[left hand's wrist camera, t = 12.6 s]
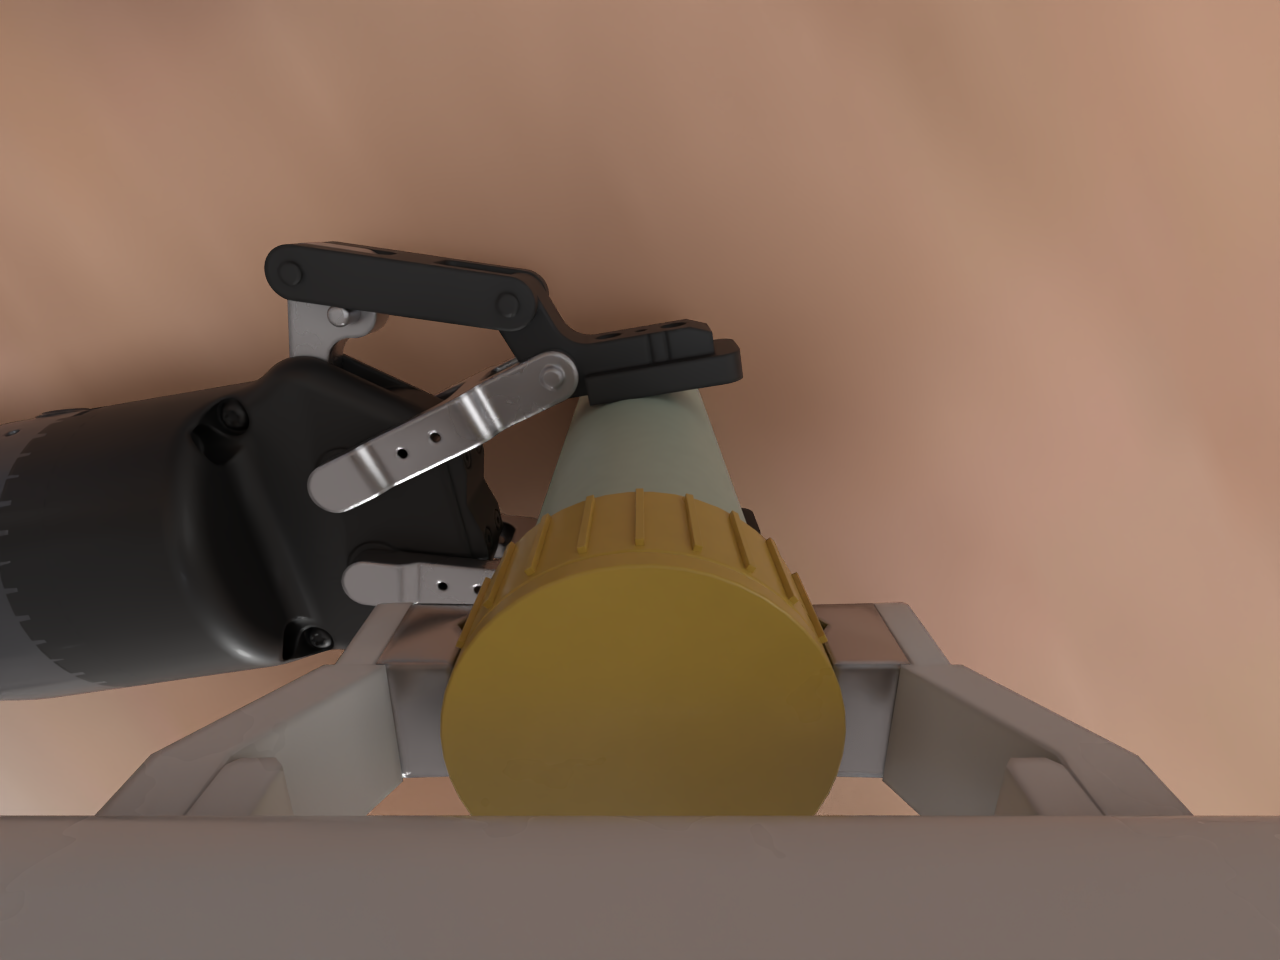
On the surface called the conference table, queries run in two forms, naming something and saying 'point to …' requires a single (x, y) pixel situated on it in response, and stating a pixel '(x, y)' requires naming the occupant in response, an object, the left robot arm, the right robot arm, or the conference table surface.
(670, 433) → the jar
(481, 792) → the lid
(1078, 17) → the conference table surface
